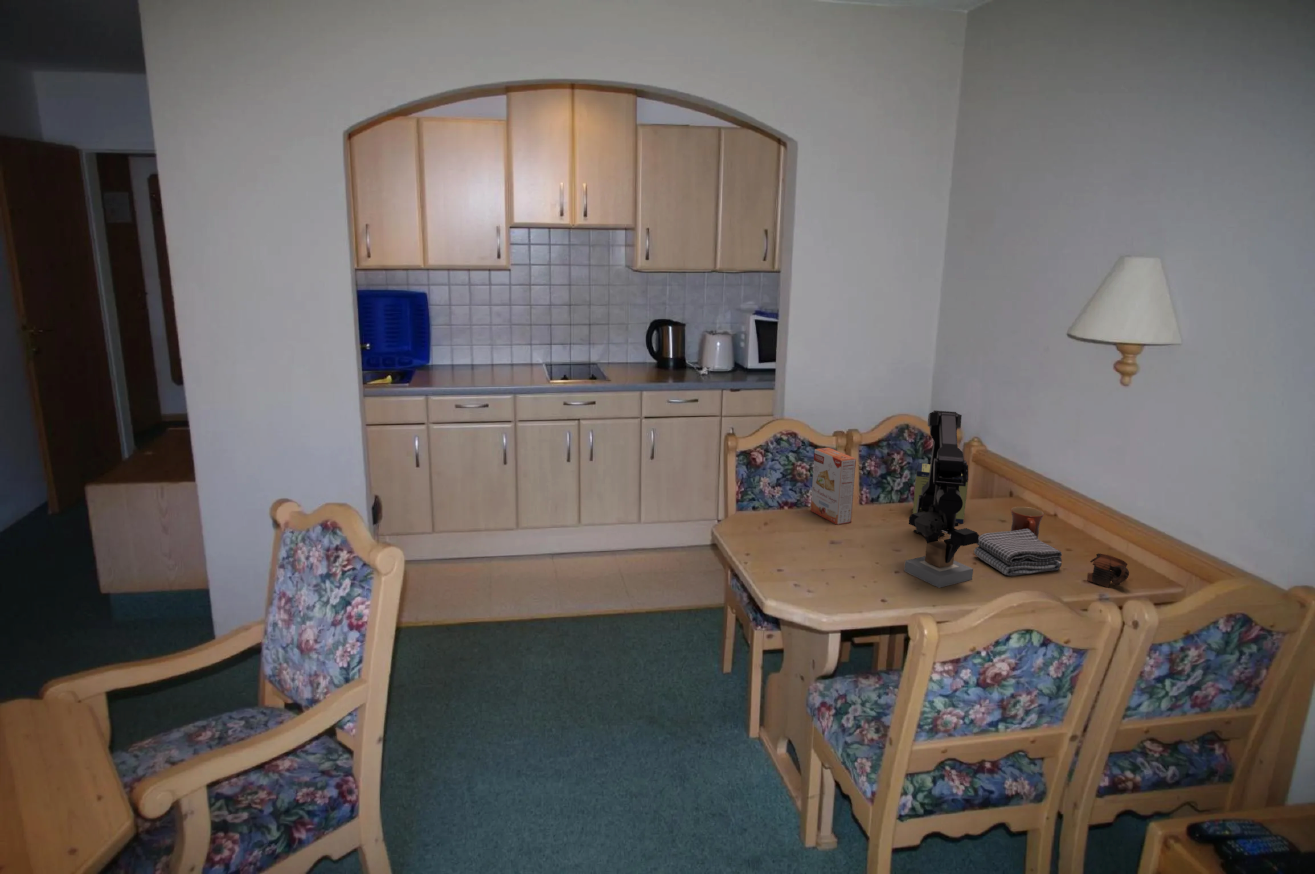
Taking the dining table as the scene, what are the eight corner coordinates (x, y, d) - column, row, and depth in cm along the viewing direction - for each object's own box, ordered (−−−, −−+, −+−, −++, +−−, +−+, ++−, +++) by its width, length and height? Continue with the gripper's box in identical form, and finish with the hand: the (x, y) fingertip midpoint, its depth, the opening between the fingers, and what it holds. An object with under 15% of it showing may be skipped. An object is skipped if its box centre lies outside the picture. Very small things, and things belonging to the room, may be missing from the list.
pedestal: (904, 571, 225) (905, 559, 224) (936, 563, 231) (937, 552, 230) (938, 587, 215) (940, 576, 214) (971, 579, 220) (973, 568, 220)
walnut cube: (924, 561, 223) (926, 543, 222) (938, 557, 225) (940, 540, 224) (939, 567, 218) (941, 549, 217) (953, 564, 221) (955, 546, 220)
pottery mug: (1075, 578, 224) (1086, 549, 225) (1102, 591, 226) (1113, 563, 227) (1110, 585, 213) (1121, 554, 214) (1138, 599, 215) (1149, 569, 216)
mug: (1003, 538, 251) (1008, 505, 249) (1035, 540, 250) (1039, 507, 247) (1012, 553, 240) (1017, 518, 237) (1045, 555, 238) (1050, 521, 236)
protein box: (912, 508, 277) (917, 462, 273) (963, 514, 272) (968, 467, 269) (911, 518, 267) (916, 470, 264) (964, 524, 263) (969, 476, 259)
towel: (970, 557, 236) (973, 531, 234) (1025, 552, 241) (1029, 526, 239) (1006, 579, 222) (1010, 551, 220) (1064, 572, 227) (1068, 545, 225)
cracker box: (809, 511, 271) (813, 448, 266) (824, 509, 274) (829, 446, 269) (835, 525, 259) (840, 459, 254) (851, 523, 261) (857, 457, 256)
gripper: (896, 496, 222) (890, 552, 226) (951, 517, 206) (945, 577, 210) (926, 490, 227) (921, 545, 231) (983, 511, 211) (976, 569, 215)
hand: (939, 559), depth 222 cm, fingers closed on walnut cube, 5 cm apart
